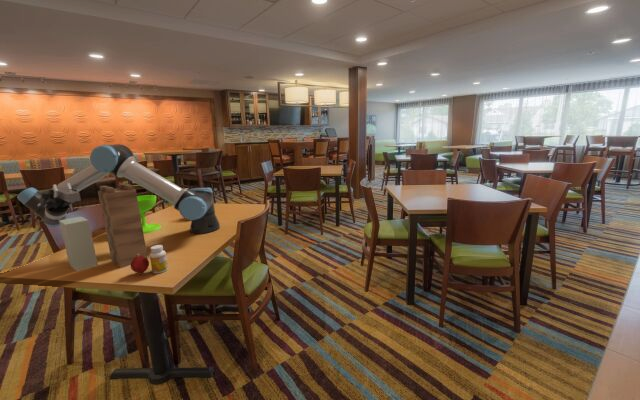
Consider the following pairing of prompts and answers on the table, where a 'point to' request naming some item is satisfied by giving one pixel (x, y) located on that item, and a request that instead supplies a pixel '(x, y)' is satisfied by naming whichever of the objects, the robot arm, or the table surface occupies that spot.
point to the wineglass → (144, 205)
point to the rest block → (78, 243)
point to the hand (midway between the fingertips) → (62, 186)
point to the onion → (139, 264)
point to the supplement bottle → (158, 259)
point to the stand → (122, 223)
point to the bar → (68, 195)
